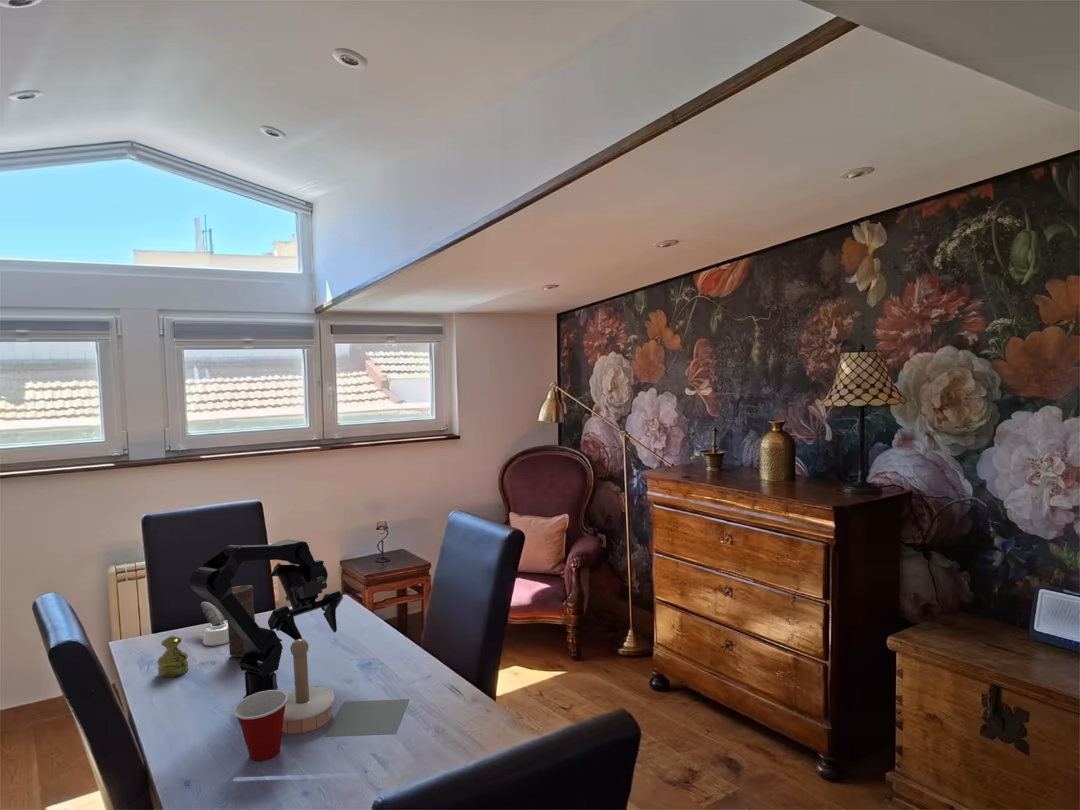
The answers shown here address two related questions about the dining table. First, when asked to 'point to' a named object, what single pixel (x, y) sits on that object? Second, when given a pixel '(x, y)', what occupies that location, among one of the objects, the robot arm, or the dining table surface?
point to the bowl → (307, 723)
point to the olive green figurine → (172, 659)
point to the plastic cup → (262, 722)
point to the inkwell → (214, 626)
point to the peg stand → (305, 688)
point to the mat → (368, 718)
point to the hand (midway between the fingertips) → (319, 637)
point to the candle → (246, 599)
